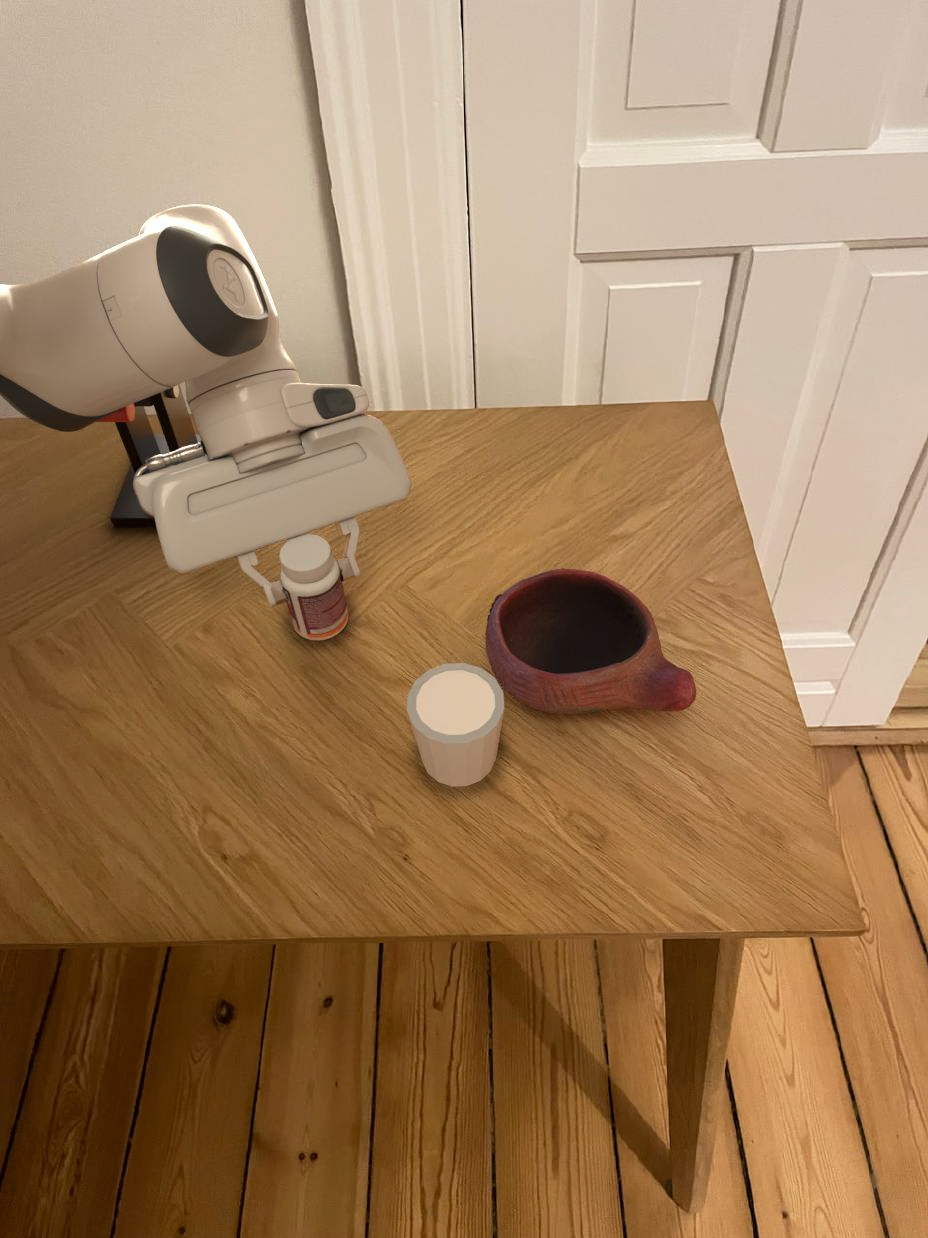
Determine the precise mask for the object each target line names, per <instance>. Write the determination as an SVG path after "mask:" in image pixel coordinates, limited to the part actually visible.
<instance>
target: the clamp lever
mask: <svg viewBox="0 0 928 1238" xmlns="http://www.w3.org/2000/svg"><path fill="white" fill-rule="evenodd" d="M135 407H144V408H145V407H149V408H150V407H154V405H153V402H152V399H151V397H148V398H145V399H143V400H140V401H138V402H135V403H133V404H130V405H128V406H125V407H123V408H120V409H118V410H117V411H115V412H114V413H112V414H110V415H108V416H106V417H104V418H102V419H100V420H98V421H97V422H96V423H115V422H132V421H133V420H134V417H135Z"/></svg>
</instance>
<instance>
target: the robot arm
mask: <svg viewBox="0 0 928 1238" xmlns="http://www.w3.org/2000/svg"><path fill="white" fill-rule="evenodd" d="M280 332H281V331H280V320H279V316H278V313H277V309H276V306H275V304H274V301H273V299H272V295H271V293H270V290H269V288H268V285H267V283H266V280H265V278H264V276H263V274H262V271H261V269H260V267H259V264H258V262H257V260H256V258H255V256H254V254H253V252H252V250H251V247H250V246H249V244H248V241H247V240H246V238H245V236H244V234H243V232H242V231H241V229H240V228H239V226H238V223H236V220H235V219H234V218H233V216H231V215H230V214H229V213H228V212H227V211H224V210H223V209H222V208H218V207H215V206H212V205H208V204H198V203H197V204H195V203H193V204H192V203H191V204H183V205H176V206H173V207H169V208H166V209H163V210H161V211H159V212H157V213H155V214H154V215H152V216H151V217H149V218H148V220H146V221H145V222H144V224H143V225H142V226H141V228H140V231H139V233H138V236H136V237H135V236H134V237H133V238H131V239H129V240H126V241H125V242H122V243H120V244H117V245H116V246H113V247H111V248H109V249H107V250H104V251H103V252H102V253H99V254H98V255H95V256H93V257H91V258H88V259H86V260H84V261H82V262H80V263H78V264H75V265H73V266H71V267H69V268H66V269H65V270H62V271H60V272H57V273H56V274H53V275H51V276H49V277H45V278H43V279H38V280H36V281H31V282H30V281H29V282H26V283H25V282H24V283H18V284H4V283H0V397H1V398H2V399H3V400H4V401H6V402H7V403H8V404H9V406H11V407H12V408H14V409H15V410H16V411H17V412H18V413H20V414H21V415H23V416H24V417H26V418H27V419H29V420H31V421H33V422H34V423H36V424H39V425H41V426H43V427H46V428H49V429H52V430H54V431H58V432H65V433H74V432H79V431H81V430H83V429H85V428H87V427H89V426H90V425H93V424H95V423H98V422H97V421H98V420H100V419H102V418H104V417H106V416H108V415H110V414H112V413H114V412H115V411H117V410H118V409H120V408H123V407H125V406H128V405H130V404H133V403H135V402H138V401H140V400H143V399H145V398H148V397H150V396H152V395H155V394H157V393H160V392H162V391H165V390H167V389H170V388H172V387H175V386H177V385H181V384H183V383H185V385H184V386H185V397H186V402H187V405H188V407H189V411H190V413H191V415H192V419H193V423H194V425H195V426H196V430H197V432H198V434H199V435H200V438H201V442H199V443H195V444H192V445H189V446H186V447H182V448H180V449H177V450H175V451H173V452H172V453H171V452H170V453H167V454H163V455H162V454H160V455H156V456H153V457H150V458H148V459H147V460H145V461H146V464H145V465H143V466H142V467H140V468H139V469H138V470H137V472H136V474H135V476H134V480H133V487H134V491H135V493H136V496H137V499H138V501H139V504H140V506H141V508H142V509H143V510H144V512H145V513H147V514H148V515H149V516H151V517H154V518H155V522H156V527H155V528H156V531H157V536H158V539H159V540H158V541H159V542H160V546H161V551H162V553H163V556H164V560H165V562H166V565H167V568H168V569H169V570H171V571H172V572H174V573H176V574H178V575H185V574H188V573H191V572H195V571H197V570H200V569H203V568H206V567H209V566H212V565H215V564H218V563H220V562H223V561H226V560H230V559H233V558H236V560H237V563H238V567H239V569H240V571H241V572H242V573H243V574H244V575H246V576H247V577H248V578H249V579H251V581H253V582H254V583H255V584H256V585H258V586H259V587H261V588H262V591H263V594H264V597H265V599H266V602H267V605H268V606H269V608H272V607H276V606H278V605H281V604H283V603H287V601H288V599H287V596H286V593H284V592H283V585H282V583H281V580H280V579H278V580H275V581H273V582H271V581H269V580H268V579H267V578H266V577H264V575H263V574H261V573H260V572H259V571H258V570H257V569H255V568H254V567H256V566H258V565H259V561H258V556H257V555H256V550H259V549H262V548H266V547H268V546H270V545H271V546H272V545H274V544H278V543H280V542H283V541H286V540H287V541H288V540H290V539H292V538H294V537H296V536H299V535H303V534H309V533H311V532H313V531H316V530H319V529H322V528H326V527H329V526H332V525H334V524H335V527H336V530H337V533H338V535H339V536H340V537H343V536H345V543H344V548H343V555H342V558H339V559H335V560H336V561H337V563H338V566H339V569H340V575H341V580H342V582H346V581H349V580H353V579H356V578H358V577H361V572H360V571H361V570H360V568H359V565H358V562H357V559H356V556H355V555H356V552H357V548H358V542H359V537H360V533H361V532H360V531H361V530H360V527H359V523H358V521H357V517H358V516H361V515H364V514H367V513H370V512H373V511H377V510H379V509H383V508H386V507H388V506H392V505H395V504H397V503H400V502H403V501H406V500H407V499H408V498H409V495H410V493H411V489H412V481H411V477H410V474H409V471H408V469H407V466H406V463H405V461H404V459H403V457H402V454H401V452H400V449H399V447H398V445H397V444H396V442H395V440H394V438H393V436H392V434H391V433H390V431H389V429H388V428H387V426H386V425H385V424H384V423H383V421H381V420H380V419H378V418H377V417H375V416H373V415H369V414H366V413H367V411H368V410H369V407H370V400H369V397H368V394H367V392H366V389H365V387H362V386H360V385H357V384H336V383H335V384H332V383H331V384H330V383H304V382H301V378H300V377H299V373H298V370H297V367H296V365H295V364H294V362H293V361H292V359H291V358H290V355H288V353H287V351H286V350H285V349H286V348H285V347H284V345H283V341H282V339H281V333H280ZM205 454H206V455H207V457H208V460H209V462H208V460H207V458H206V456H205ZM179 463H180V464H179ZM175 464H177V465H175ZM171 465H174V466H171ZM168 466H170V467H168ZM166 467H167V468H166ZM147 469H149V471H150V472H151V473H147V474H144V475H141V474H142V473H143V472H144V471H145V470H147Z"/></svg>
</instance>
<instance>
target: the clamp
mask: <svg viewBox="0 0 928 1238" xmlns="http://www.w3.org/2000/svg"><path fill="white" fill-rule="evenodd" d="M150 397H151V399H152V402H153V408H154V411H155V414H156V416H157V420H158V422H159V425H160V427H161V430H162V433H154V431H153V428H152V425H151V423H150V420H149V416H148V415H147V412H146V409H145V407H135V417H134V420H133V421H132V422H114V424H115V427H116V429H117V431H118V434H119V436H120V440H121V442H122V445H123V447H124V449H125V452H126V454H127V457H128V460H129V462H130V466H129V468H128V471H127V473H126V476H125V479H124V481H123V484H122V485H121V487H120V488H121V489H120V491H119V493H118V496H117V499H116V501H115V504H114V507H113V509H112V511H111V513H110V517H109V519H110V522H111V524H112V527H114V528H157V527H156V522H155V518H154V517H151V516H149V515H148V514H147V513H145V512H144V510H143V509H142V508H141V506H140V504H139V501H138V499H137V496H136V493H135V491H134V487H133V480H134V476H135V474H136V472H137V470H138V469H139V468H140V467H142V466H143V465H145V464H146V461H145V460H147V459H148V458H150V457H153V456H156V455H160V454H162V455H163V454H167V453H170V452H171V453H172V452H173V451H175V450H177V449H180V448H182V447H186V446H189V445H192V444H195V443H199V442H201V438H200V435H199V433H198V434H197V433H195V429H194V426H193V422H192V420H191V416H190V414H189V410H188V407H187V403H186V401H185V397H184V395H183V391H182V388H181V384H179V385H177V386H175V387H172V388H170V389H167V390H165V391H162V392H160V393H157V394H155V395H152V396H150ZM205 456H206V458H207V460H208V457H207V455H206V454H205ZM208 462H209V460H208ZM179 464H180V463H179ZM175 465H177V464H175ZM171 466H174V465H171ZM168 467H170V466H168ZM166 468H167V467H166ZM147 473H151V472H150V471H149V469H147V470H145V471H144V472H143V473H142V474H141V475H144V474H147Z"/></svg>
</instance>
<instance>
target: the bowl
mask: <svg viewBox="0 0 928 1238" xmlns="http://www.w3.org/2000/svg"><path fill="white" fill-rule="evenodd" d="M486 619H487V620H486V628H485V653H486V656H487V660H488V663H489V665H490V667H491V671H492V672H493V674H494V676H495V679H496V680H497V682H498V684H499V685H500V687H501V688H503V689H504V690H505V692H507V693H508V694H509V695H510V696H511V697H512V698H513V699H515V700H516V701H518V702H520V703H521V704H523V705H525V706H527V707H528V708H532V709H534V710H536V711H540V712H543V713H550V714H554V715H555V714H560V715H561V714H564V715H565V714H567V715H569V714H585V713H592V712H593V713H594V712H601V711H610V710H611V711H612V710H619V709H621V710H622V709H628V710H641V711H642V710H643V711H650V712H666V713H669V712H670V713H671V712H680V711H684V710H686V709H688V708H690V707H691V706H692V705H693V704H694V702H695V701H696V698H697V686H696V683H695V678H694V677H693V675H692V673H691V671H689V670H688V669H685V668H683V667H680V666H677V665H676V664H674V663H672V662H671V661H670V660H668V659H667V658H666V657H665V656H664V653H663V649H662V643H661V639H660V634H659V631H658V628H657V624H656V622H655V618H654V617H653V615H652V613H651V611H650V609H649V608H648V607H647V606H646V605H645V604H644V602H643V601H642V600H641V599H640V598H639V597H638V596H637V595H635V594H634V593H633V592H632V591H631V590H630V589H629V588H627V587H626V586H624V585H622V584H620V583H619V582H616V581H615V580H613V579H611V578H609V577H607V576H605V575H604V574H601V573H598V572H595V571H591V570H584V569H575V568H558V569H551V570H546V571H544V572H541V573H538V574H534V575H532V576H529V577H527V578H524V579H522V580H518V582H516V583H515V584H513V585H512V586H511V587H509V588H507V590H505V591H503V593H500V594H498V595H496V596H495V597H494V600H493V602H492V603H491V607H490V608H489V614H488V615H487V618H486Z"/></svg>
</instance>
